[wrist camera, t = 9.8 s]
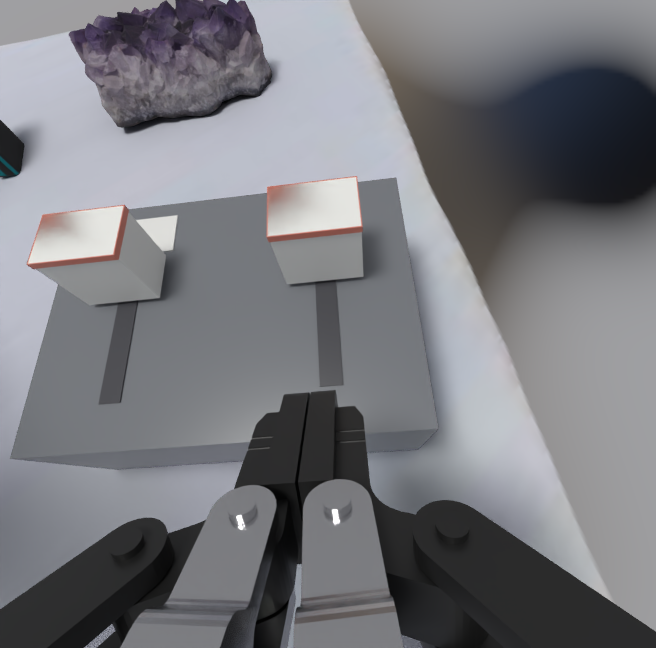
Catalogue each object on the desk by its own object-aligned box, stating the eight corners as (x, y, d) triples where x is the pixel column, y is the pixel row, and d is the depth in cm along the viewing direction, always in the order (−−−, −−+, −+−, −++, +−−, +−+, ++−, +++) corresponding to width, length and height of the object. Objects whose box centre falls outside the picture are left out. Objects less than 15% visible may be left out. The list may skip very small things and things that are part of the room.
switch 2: (364, 277, 22) (362, 226, 18) (286, 285, 22) (266, 237, 18) (359, 232, 23) (356, 176, 19) (285, 240, 23) (267, 186, 19)
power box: (418, 449, 26) (439, 428, 18) (115, 469, 28) (8, 458, 20) (390, 256, 33) (396, 176, 25) (146, 281, 35) (76, 214, 26)
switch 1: (160, 298, 23) (113, 255, 18) (88, 305, 23) (26, 264, 19) (166, 254, 24) (124, 204, 20) (98, 262, 24) (42, 214, 20)
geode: (266, 43, 48) (247, -55, 38) (279, 115, 45) (261, 27, 35) (106, 72, 48) (46, -21, 38) (107, 146, 44) (41, 65, 35)
